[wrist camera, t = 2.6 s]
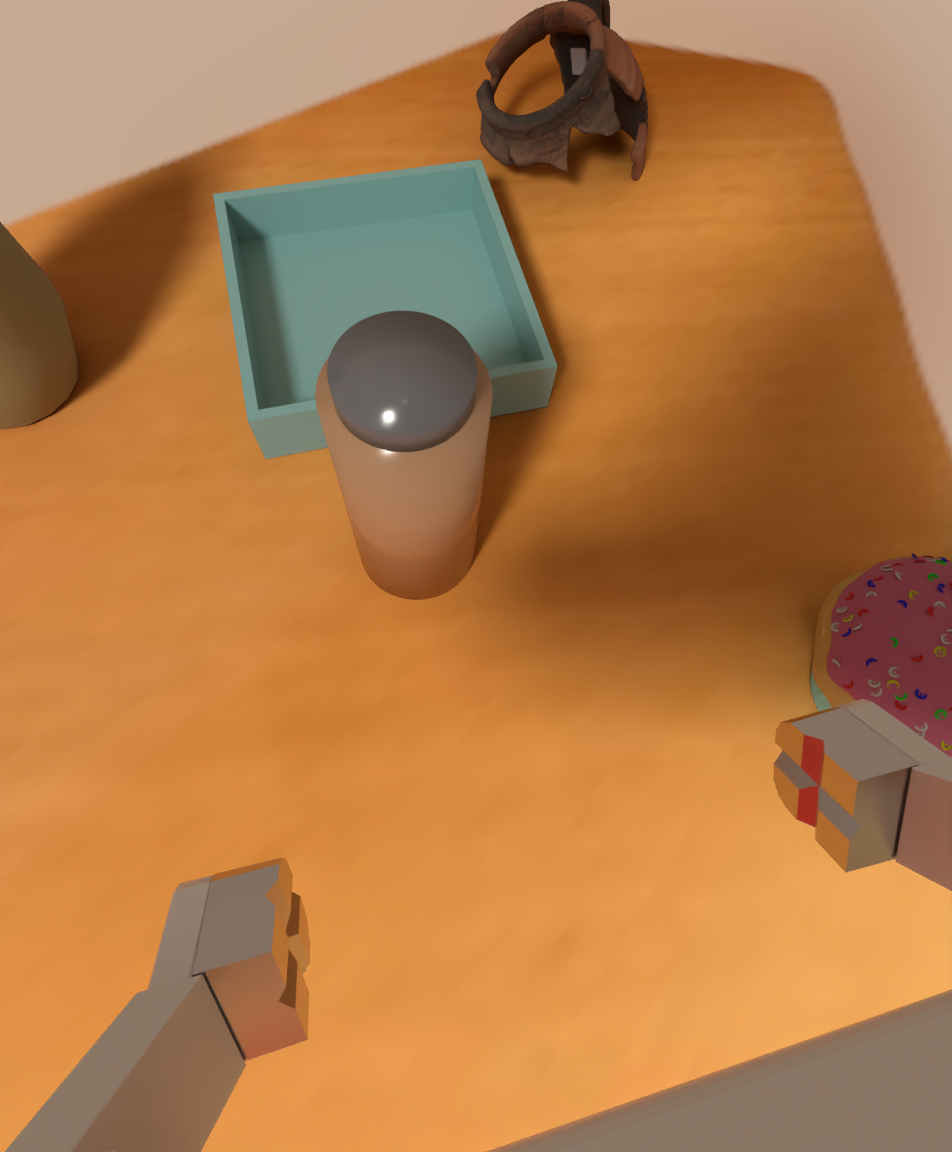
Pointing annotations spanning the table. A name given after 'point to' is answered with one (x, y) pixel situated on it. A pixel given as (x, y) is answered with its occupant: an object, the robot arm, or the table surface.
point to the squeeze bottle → (31, 340)
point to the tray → (372, 285)
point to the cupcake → (890, 644)
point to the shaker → (408, 447)
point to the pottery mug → (567, 87)
